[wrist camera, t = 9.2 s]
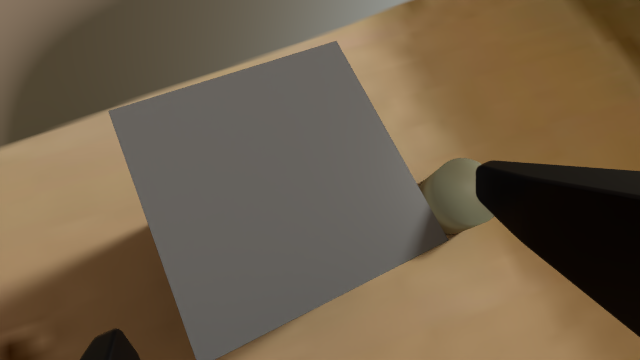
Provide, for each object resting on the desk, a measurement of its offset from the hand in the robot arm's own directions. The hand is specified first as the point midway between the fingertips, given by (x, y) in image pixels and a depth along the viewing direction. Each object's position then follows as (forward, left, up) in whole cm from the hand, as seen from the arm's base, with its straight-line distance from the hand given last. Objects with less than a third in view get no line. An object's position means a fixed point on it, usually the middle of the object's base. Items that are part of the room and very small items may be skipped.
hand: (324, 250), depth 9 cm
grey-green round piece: (+9, -2, -10) cm, 14 cm away
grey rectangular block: (0, +2, -10) cm, 10 cm away
